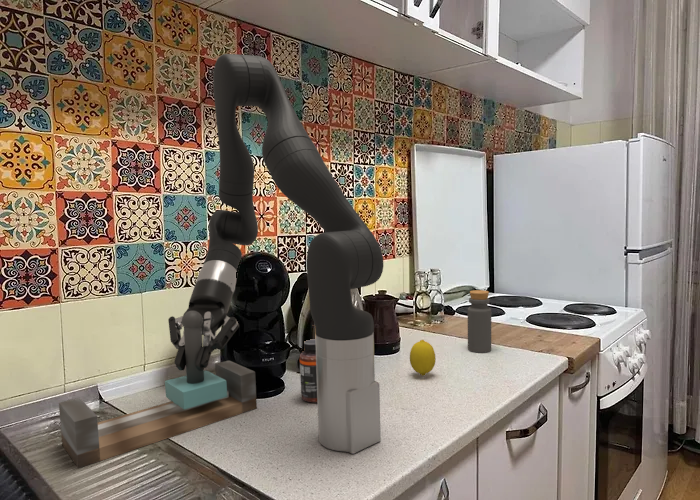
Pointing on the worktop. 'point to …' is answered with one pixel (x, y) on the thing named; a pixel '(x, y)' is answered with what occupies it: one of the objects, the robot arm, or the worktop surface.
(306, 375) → the supplement bottle
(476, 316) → the bottle
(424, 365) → the lemon
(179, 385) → the carriage
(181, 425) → the rail
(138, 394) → the worktop surface
